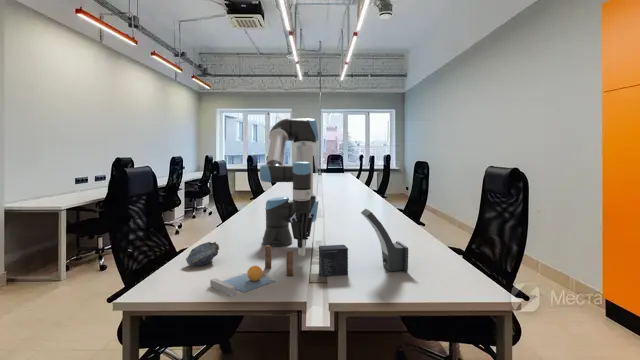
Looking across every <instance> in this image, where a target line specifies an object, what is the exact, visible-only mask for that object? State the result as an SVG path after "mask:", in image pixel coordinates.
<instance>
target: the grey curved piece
mask: <svg viewBox="0 0 640 360" xmlns="http://www.w3.org/2000/svg"><path fill="white" fill-rule="evenodd" d="M360 213H361V215H362V216H363V217H364V218H365V219H366V220H367V222H368V223H369V224H370V226H371V227H372V228H373V229H374V232H375V233H376V235H377V238H378V240H379V244H380V247H381V257H382V266H383V267H384V268H385V269H386V270H387V272H391V273H392V272H398V271H399V272H400V271H403V272H404V273H408V271H409V247H408V246H407V245H405V244H404V243H402V242H401V241H399V240H398V241H395V242H393V240H392V239H391V237H390V235H389V234H388V231H387V230H386V228H385V227H384V225H383V224H382V223H381V221H380V220H379V219H378V218H377V217H376V216H375V214H374V213H373V212H372V210H369V209H368V208H364V209H363V210H362V211H361V212H360Z"/></svg>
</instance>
